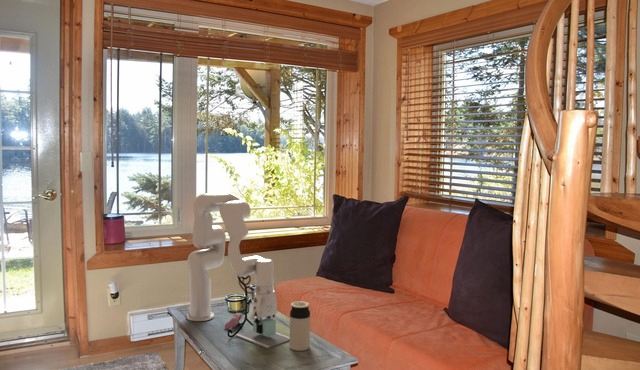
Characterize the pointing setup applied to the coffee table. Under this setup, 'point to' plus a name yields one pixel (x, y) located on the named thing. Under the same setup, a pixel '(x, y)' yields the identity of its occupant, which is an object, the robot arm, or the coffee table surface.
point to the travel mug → (299, 326)
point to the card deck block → (267, 326)
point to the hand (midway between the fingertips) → (264, 331)
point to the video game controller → (233, 321)
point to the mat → (264, 339)
